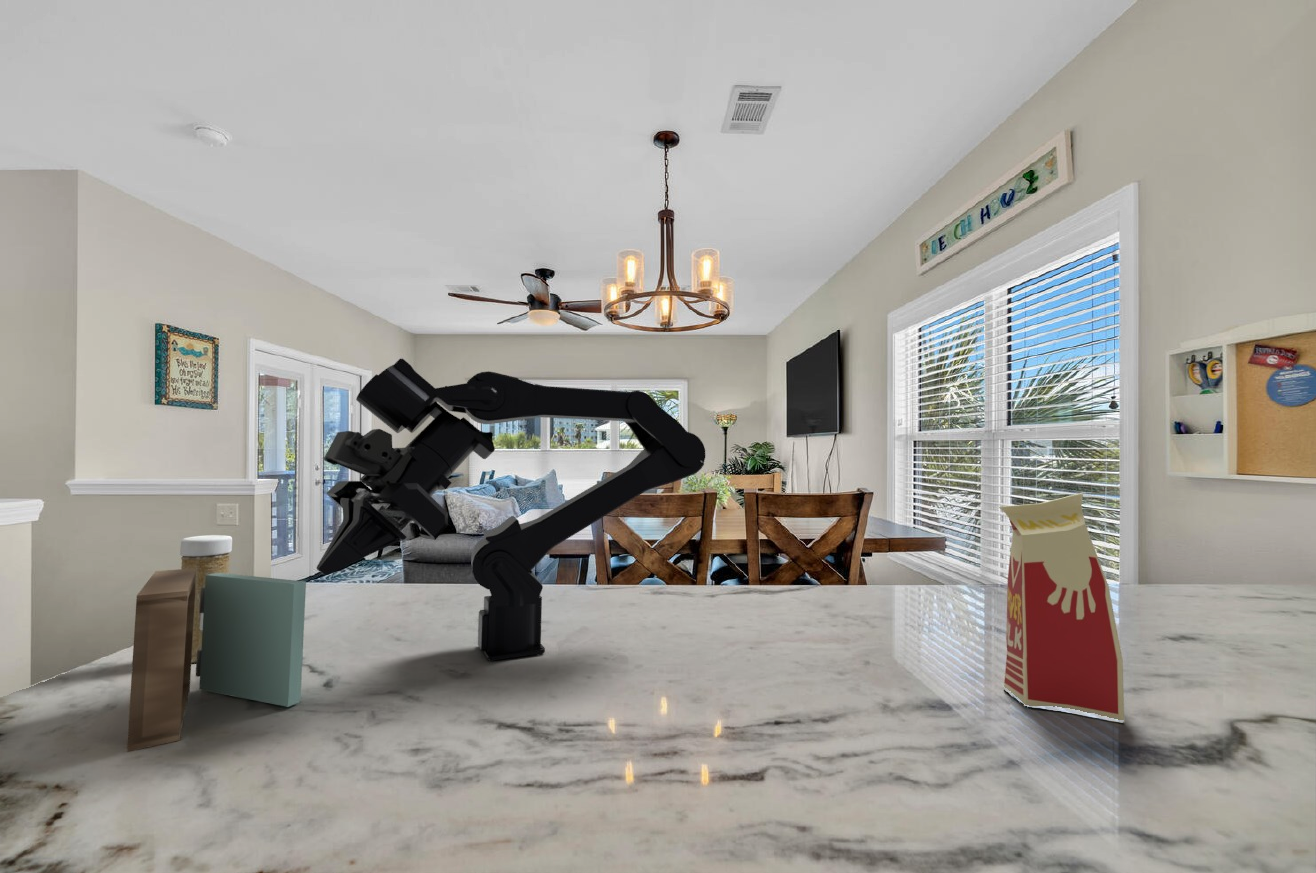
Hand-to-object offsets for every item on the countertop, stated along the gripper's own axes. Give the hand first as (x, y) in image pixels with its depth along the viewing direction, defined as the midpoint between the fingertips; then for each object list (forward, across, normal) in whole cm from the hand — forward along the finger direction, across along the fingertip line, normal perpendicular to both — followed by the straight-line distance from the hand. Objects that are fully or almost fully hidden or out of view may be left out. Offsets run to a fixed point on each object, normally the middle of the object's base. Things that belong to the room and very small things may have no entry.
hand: (321, 572), depth 55 cm
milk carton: (-25, +53, +44) cm, 73 cm away
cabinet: (+16, -2, 0) cm, 16 cm away
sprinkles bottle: (+12, -19, +3) cm, 23 cm away
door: (+12, -3, +4) cm, 12 cm away
